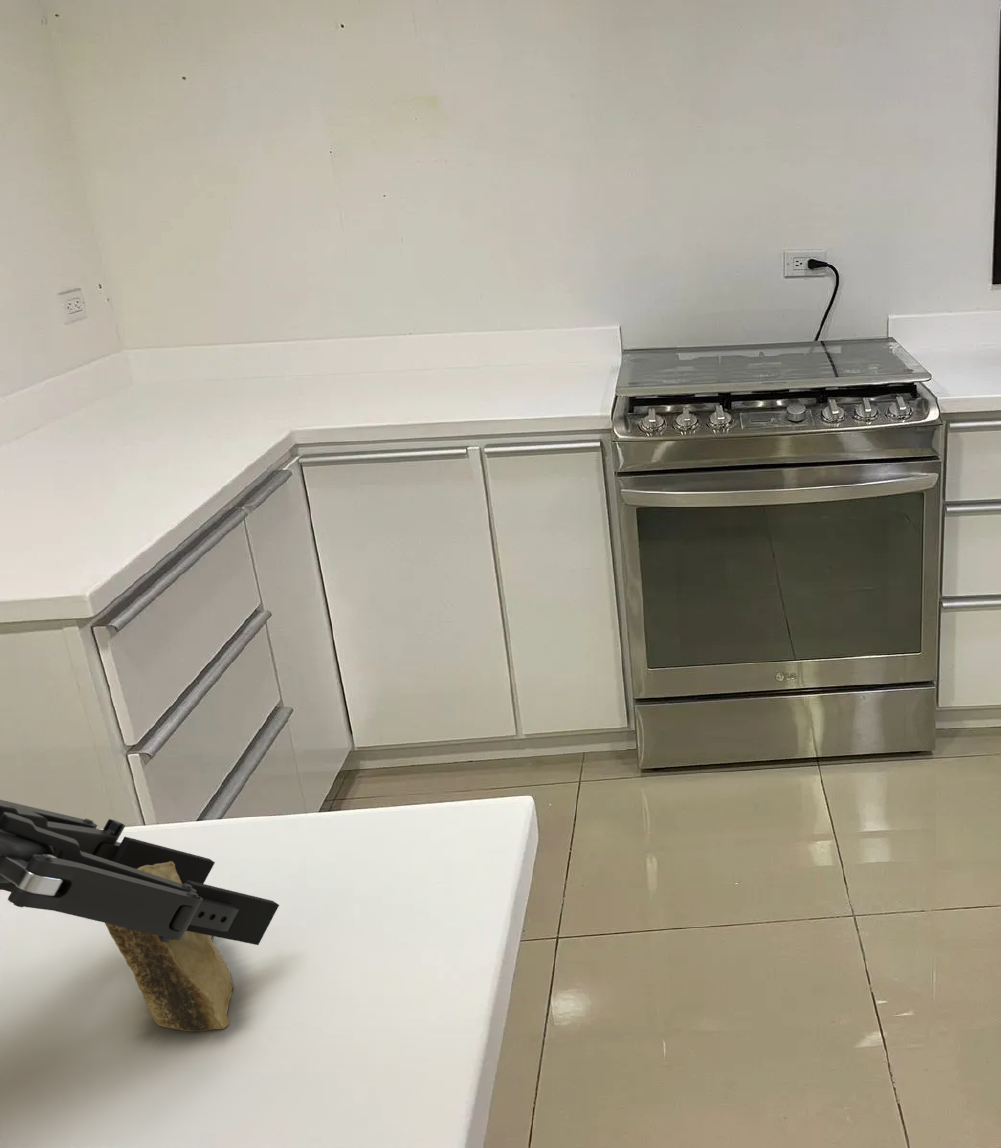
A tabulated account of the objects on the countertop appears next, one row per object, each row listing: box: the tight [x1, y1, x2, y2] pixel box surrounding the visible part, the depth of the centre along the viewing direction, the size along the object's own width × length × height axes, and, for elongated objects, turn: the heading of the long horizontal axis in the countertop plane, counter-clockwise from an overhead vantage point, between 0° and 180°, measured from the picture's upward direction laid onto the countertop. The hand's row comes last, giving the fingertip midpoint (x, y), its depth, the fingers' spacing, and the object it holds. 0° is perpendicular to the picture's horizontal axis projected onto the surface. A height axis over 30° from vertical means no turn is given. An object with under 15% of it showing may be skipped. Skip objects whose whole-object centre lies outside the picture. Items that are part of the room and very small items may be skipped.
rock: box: [104, 861, 235, 1032], centre depth 72 cm, size 11×9×10 cm
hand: (232, 900), depth 75 cm, fingers closed on rock, 7 cm apart
